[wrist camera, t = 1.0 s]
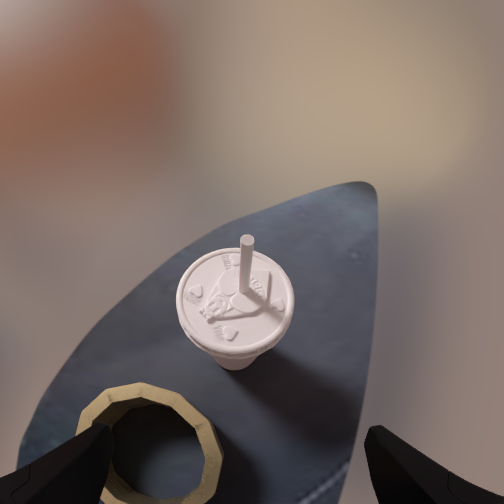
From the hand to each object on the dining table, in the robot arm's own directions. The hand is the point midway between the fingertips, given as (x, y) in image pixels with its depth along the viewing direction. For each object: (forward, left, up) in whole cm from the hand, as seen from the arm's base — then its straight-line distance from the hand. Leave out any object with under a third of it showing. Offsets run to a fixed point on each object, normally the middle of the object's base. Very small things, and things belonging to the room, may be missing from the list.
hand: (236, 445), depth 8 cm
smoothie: (+7, +2, -14) cm, 15 cm away
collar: (-3, +6, -13) cm, 15 cm away
